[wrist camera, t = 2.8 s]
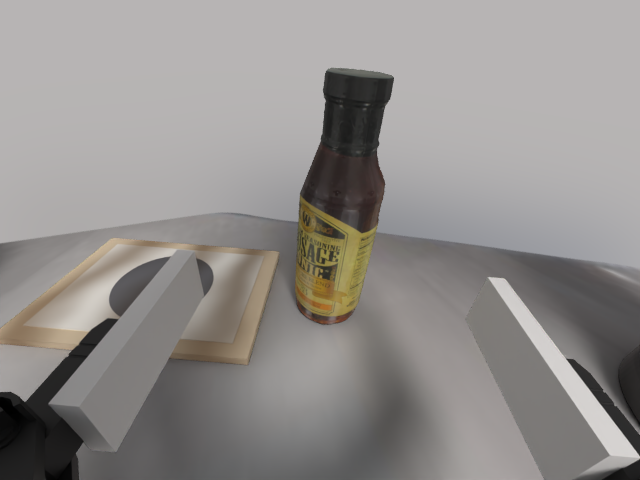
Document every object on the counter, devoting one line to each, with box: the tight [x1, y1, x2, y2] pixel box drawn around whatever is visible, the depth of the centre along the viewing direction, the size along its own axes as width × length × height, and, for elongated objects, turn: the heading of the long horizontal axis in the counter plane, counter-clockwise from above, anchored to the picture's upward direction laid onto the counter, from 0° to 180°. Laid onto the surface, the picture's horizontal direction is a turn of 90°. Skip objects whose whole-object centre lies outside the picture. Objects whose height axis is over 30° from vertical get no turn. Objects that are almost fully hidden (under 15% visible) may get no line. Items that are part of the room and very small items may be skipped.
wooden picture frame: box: [0, 238, 279, 365], centre depth 27 cm, size 20×14×1 cm
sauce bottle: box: [295, 68, 394, 325], centre depth 22 cm, size 7×6×20 cm
